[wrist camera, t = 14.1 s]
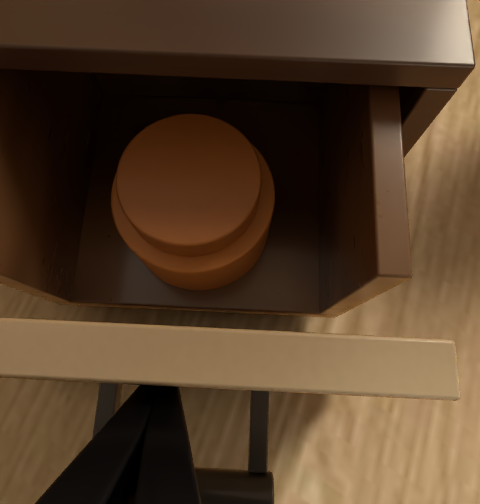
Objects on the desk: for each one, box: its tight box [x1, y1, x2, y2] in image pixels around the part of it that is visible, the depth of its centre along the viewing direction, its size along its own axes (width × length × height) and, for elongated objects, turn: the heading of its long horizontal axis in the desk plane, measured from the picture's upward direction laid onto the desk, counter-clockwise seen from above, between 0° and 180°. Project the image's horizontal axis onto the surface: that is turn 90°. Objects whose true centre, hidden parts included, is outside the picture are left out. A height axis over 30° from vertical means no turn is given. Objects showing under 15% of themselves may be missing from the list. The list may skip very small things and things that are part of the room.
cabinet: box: [0, 0, 475, 157], centre depth 16 cm, size 14×14×10 cm
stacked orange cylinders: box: [111, 113, 275, 291], centre depth 14 cm, size 5×5×4 cm
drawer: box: [0, 69, 460, 504], centre depth 13 cm, size 17×12×8 cm
